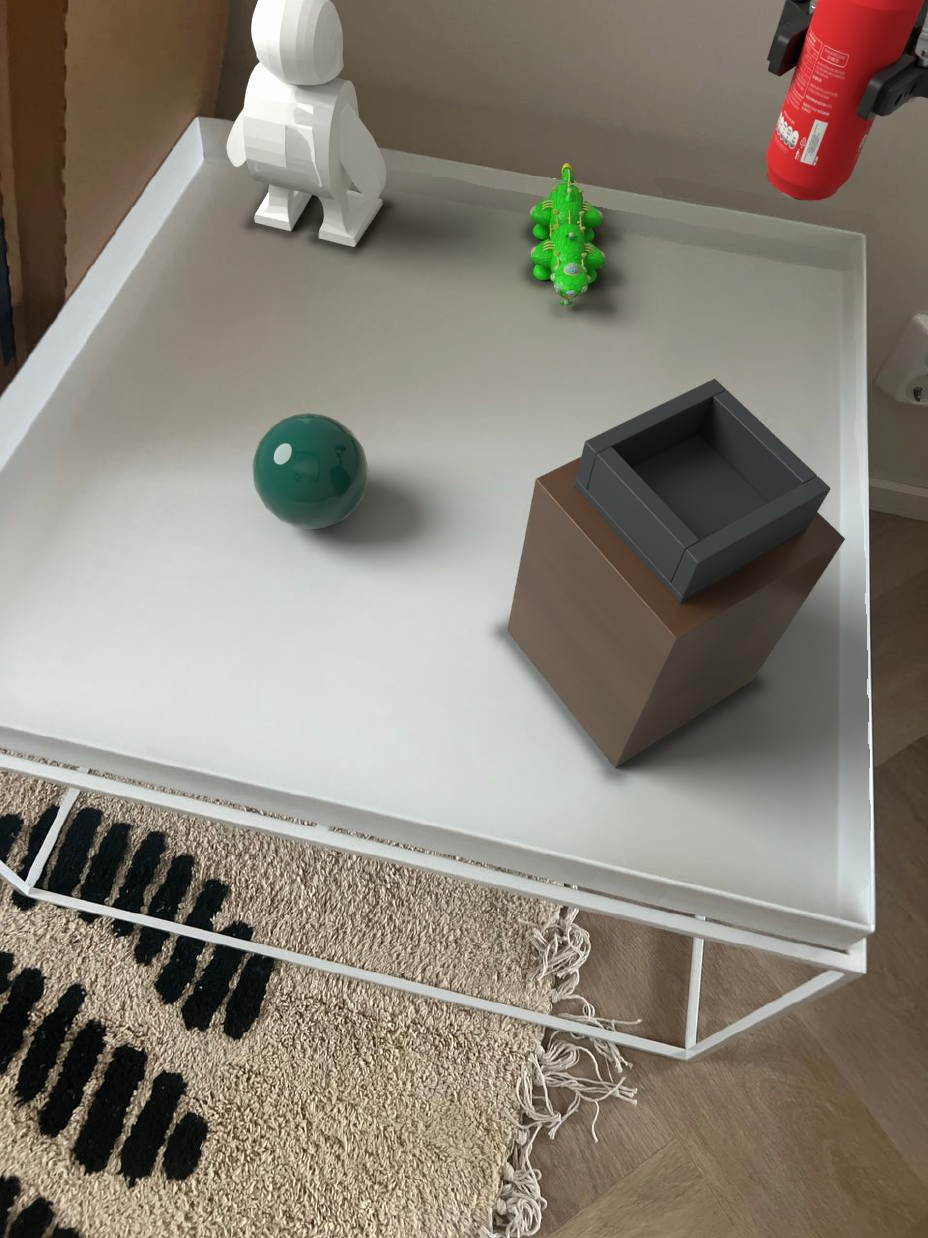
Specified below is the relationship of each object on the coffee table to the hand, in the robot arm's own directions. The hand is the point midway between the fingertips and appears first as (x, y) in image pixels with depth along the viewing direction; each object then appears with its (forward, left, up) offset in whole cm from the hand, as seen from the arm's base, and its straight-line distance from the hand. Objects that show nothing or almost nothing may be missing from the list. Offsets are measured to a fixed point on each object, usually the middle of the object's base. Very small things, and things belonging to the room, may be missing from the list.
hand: (822, 78), depth 53 cm
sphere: (+28, -9, -29) cm, 42 cm away
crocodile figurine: (-5, -23, -29) cm, 37 cm away
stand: (+16, +13, -29) cm, 36 cm away
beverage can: (-3, 0, -7) cm, 8 cm away
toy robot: (+12, -38, -29) cm, 49 cm away
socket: (+16, +13, -13) cm, 25 cm away
